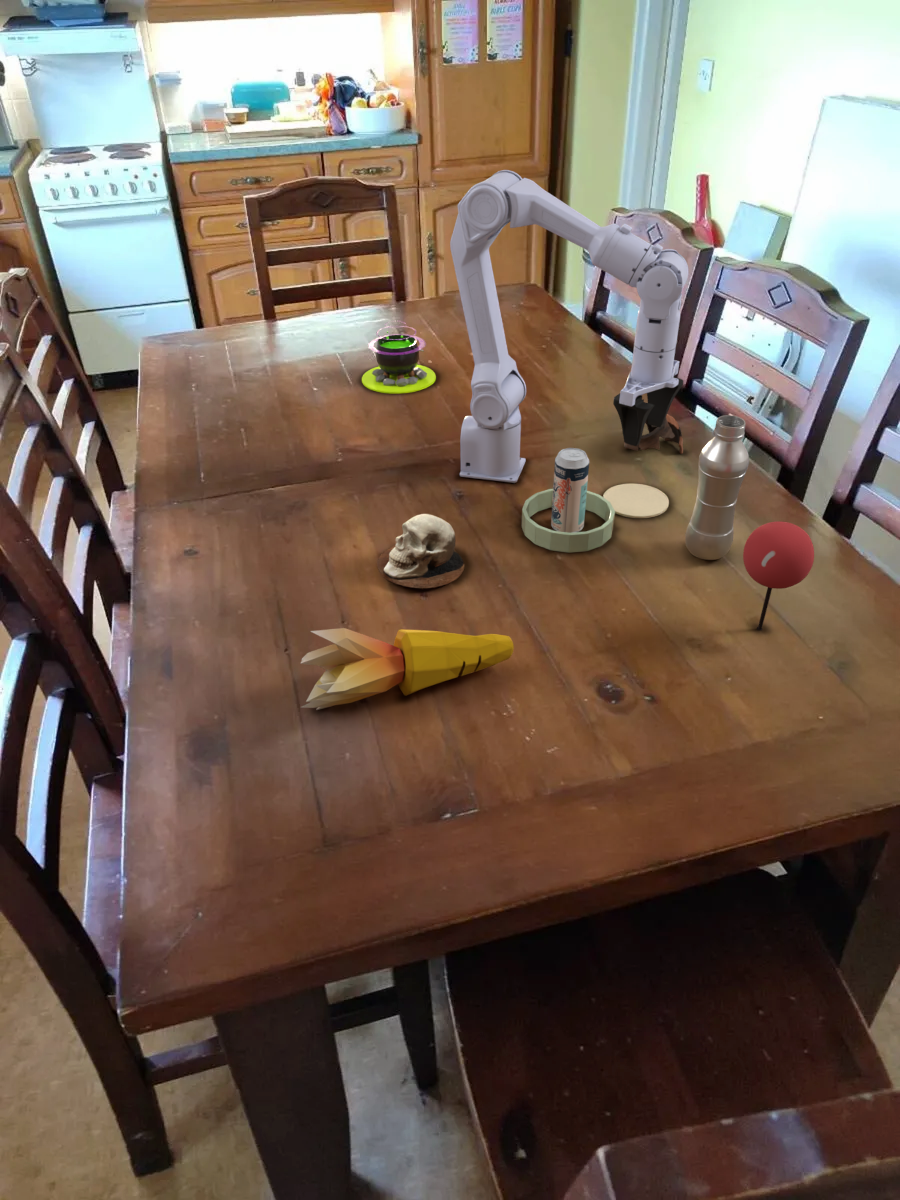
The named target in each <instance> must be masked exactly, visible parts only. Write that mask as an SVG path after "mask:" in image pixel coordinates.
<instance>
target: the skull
mask: <svg viewBox="0 0 900 1200" xmlns="http://www.w3.org/2000/svg"><path fill="white" fill-rule="evenodd" d="M401 527H402V528H401V529H402V534H401V535H398V536H397V537H395V545H393V546H391V547H388V549H386V550H384V551H383V552H382V553H381V554H380V555H379V556H378V558H377V561H376V562H377V563H376V567H377V569H378V572H379V573H380V575H381V576H382V577H383V578H384V579H385V580H387V581H388V582H391V583H393V584H395V585H400V586H402V587H406V588H413V589H419V590H420V589H421V590H425V589H436V588H438V587H442V586H444V585H445V586H446V585H449V584H451V583H453V582H454V581H456V580H457V579H458V578H459V577H460V576H461V575H462V574H463V572H464V569H465V562H464V560H463V557H462V556H461V555H460V553H459V552H457V551H456V550H455V549H456V532H455V530H454V528H453V527H452V525H451V524H450V523H449V522H447V521H446V520H444V519H443V518H441V517H438V516H436V515H434V514H430V513H421V514H417V515H414V516H413V517H411V518H410V519H408V520H407V521H405V522H403V523H402V525H401Z"/></svg>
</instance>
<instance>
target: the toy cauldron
mask: <svg viewBox="0 0 900 1200" xmlns="http://www.w3.org/2000/svg"><path fill="white" fill-rule="evenodd" d="M392 322H395V320H392ZM398 322H401V323H403V324H405V321H401V320H398ZM384 327H385V329H387V328H388V329H390V328H391V329H394V326H392V325H390V326H389V325H388V322H385V323H384ZM384 327H382V328H380V329H378V330H377V331H376V333H375V334H376V336H377V337H376V338H374V339H372V340H371V341H370V342H368V344H367V346H368V349H370V350H371V352H372V351H373V352H374V353H375V360H376V363H377V365H378V366H375V367H373V368H371V369H369V370H367V371H366V372H364V373H363V375H362V376H361V383H362V385H363V386H364V387H365V388H366V389H368V390H370V391H374V392H377V393H381V394H390V395H391V394H396V395H397V394H398V395H399V394H401V395H402V394H410V393H415V392H418V391H419V392H420V391H421V390H424V389H427V388H429V387H430V386H432V385H433V384H434V383H435V382H436V380H437V376H436V373H435V372H434V370H432V369H431V368H429V367H428V366H425V365H421V364H418V363H419V360H420V352H422V353H424V352H425V350H424V348H425V346H426V341H424V338H422V337H419V336H416V335H417V330H416V329H415V328H413V327H410V329H412V330H413V331H414V334H412V335H410V334H407V333H406V334H404V333H403V334H402V333H396V334H395V333H393V334H389V331H386V334H387V335H381V336H380V335H379V331H381V330H382V329H384ZM403 327H404V328H408V326H407V325H402V328H403ZM399 328H401V326H395V329H399ZM417 341H418V342H419V345H418V343H417ZM375 343H376V347H375Z"/></svg>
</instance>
